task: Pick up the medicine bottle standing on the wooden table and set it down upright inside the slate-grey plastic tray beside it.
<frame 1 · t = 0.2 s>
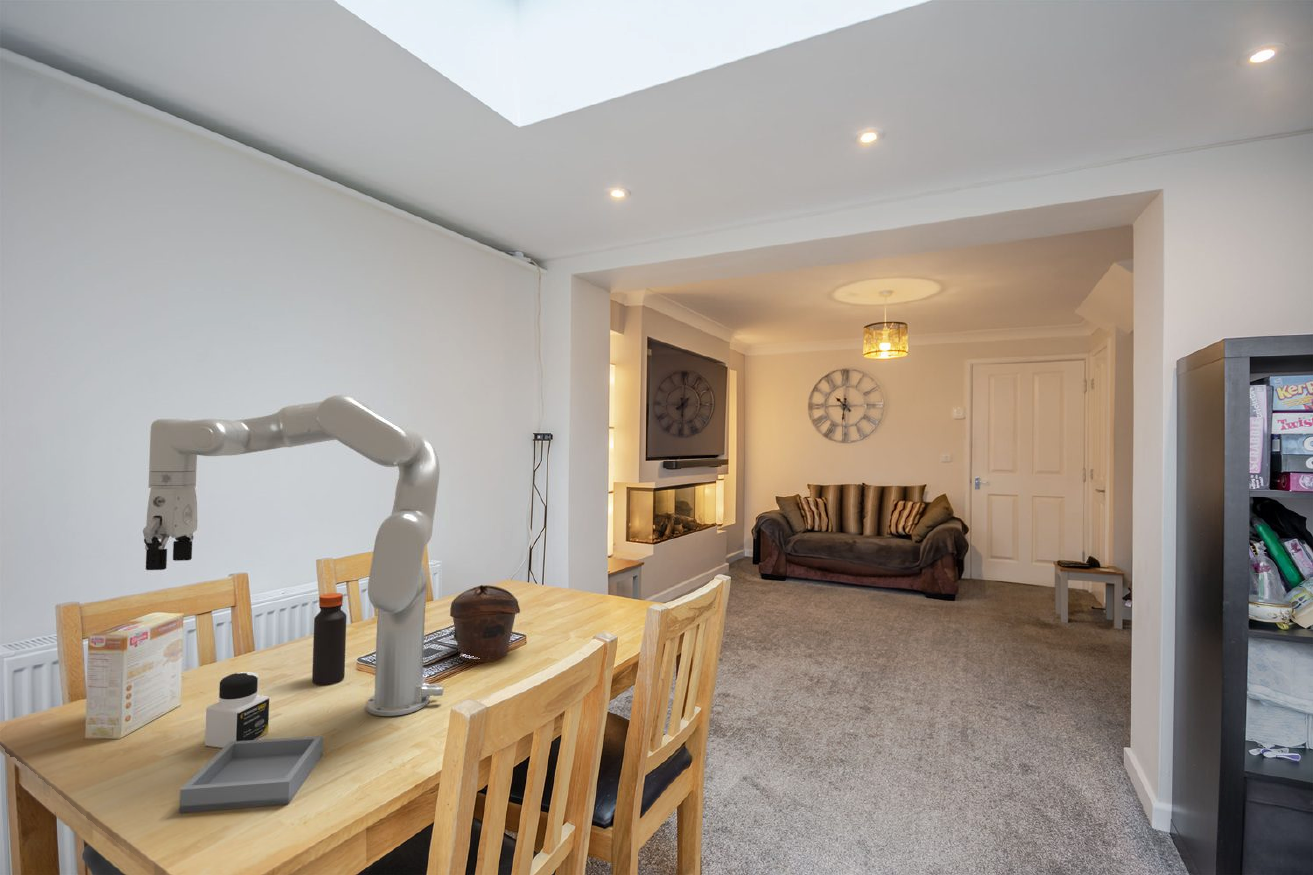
hand: (169, 564, 122), 31 cm above the table, tool pointing down, fingers open, 9 cm apart
grey tray: (257, 781, 100), on the table
brown lidded pot: (482, 654, 163), on the table
coffeecake box: (135, 721, 120), on the table
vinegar: (328, 681, 142), on the table
medicine bottle: (237, 740, 113), on the table
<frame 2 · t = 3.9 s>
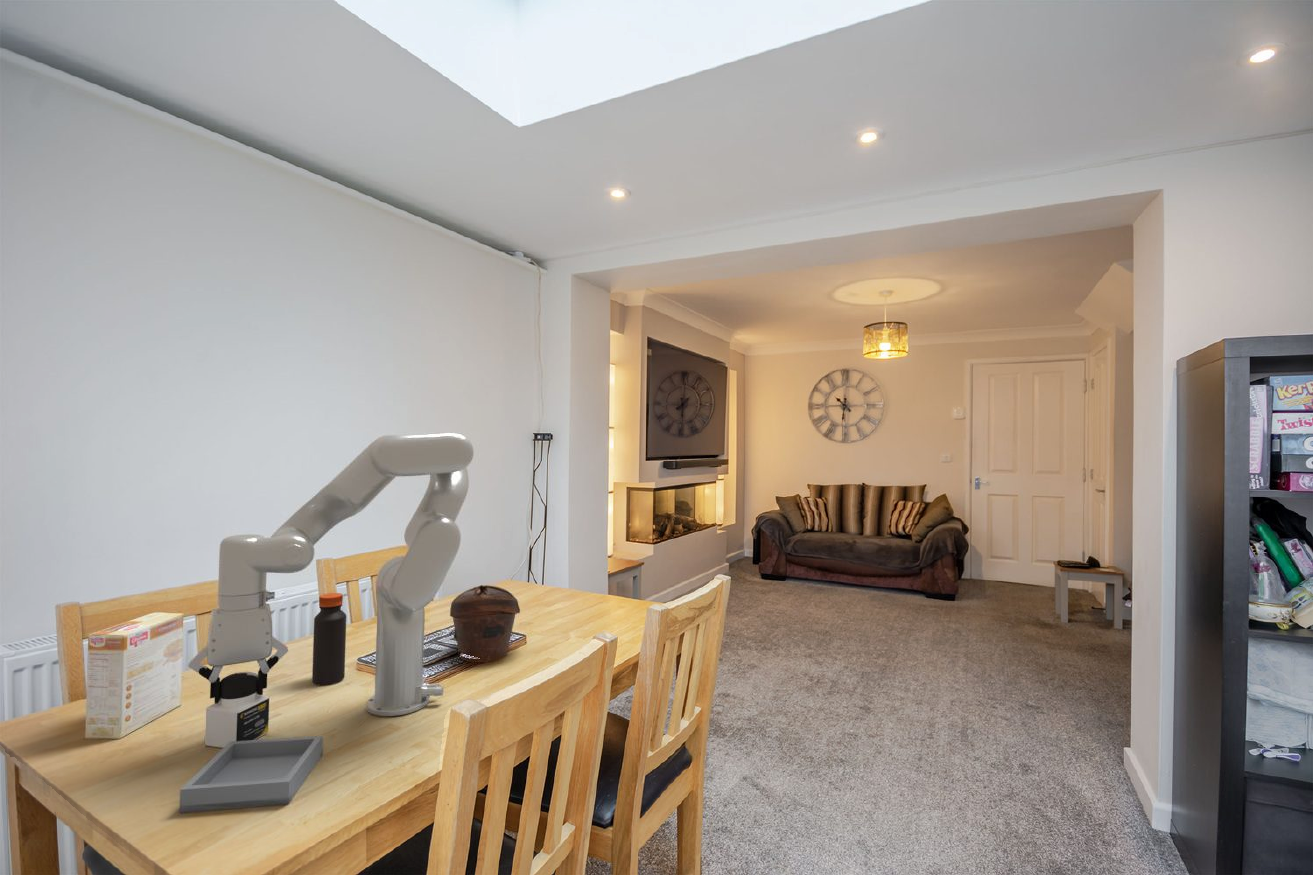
hand: (238, 695, 114), 8 cm above the table, tool pointing down, fingers closed on medicine bottle, 6 cm apart
medicine bottle: (237, 740, 113), on the table, touching gripper
everything else where it was.
when the fingers open (11 cm above the table, at t = 10.2 s): medicine bottle drops 2 cm, resting on grey tray.
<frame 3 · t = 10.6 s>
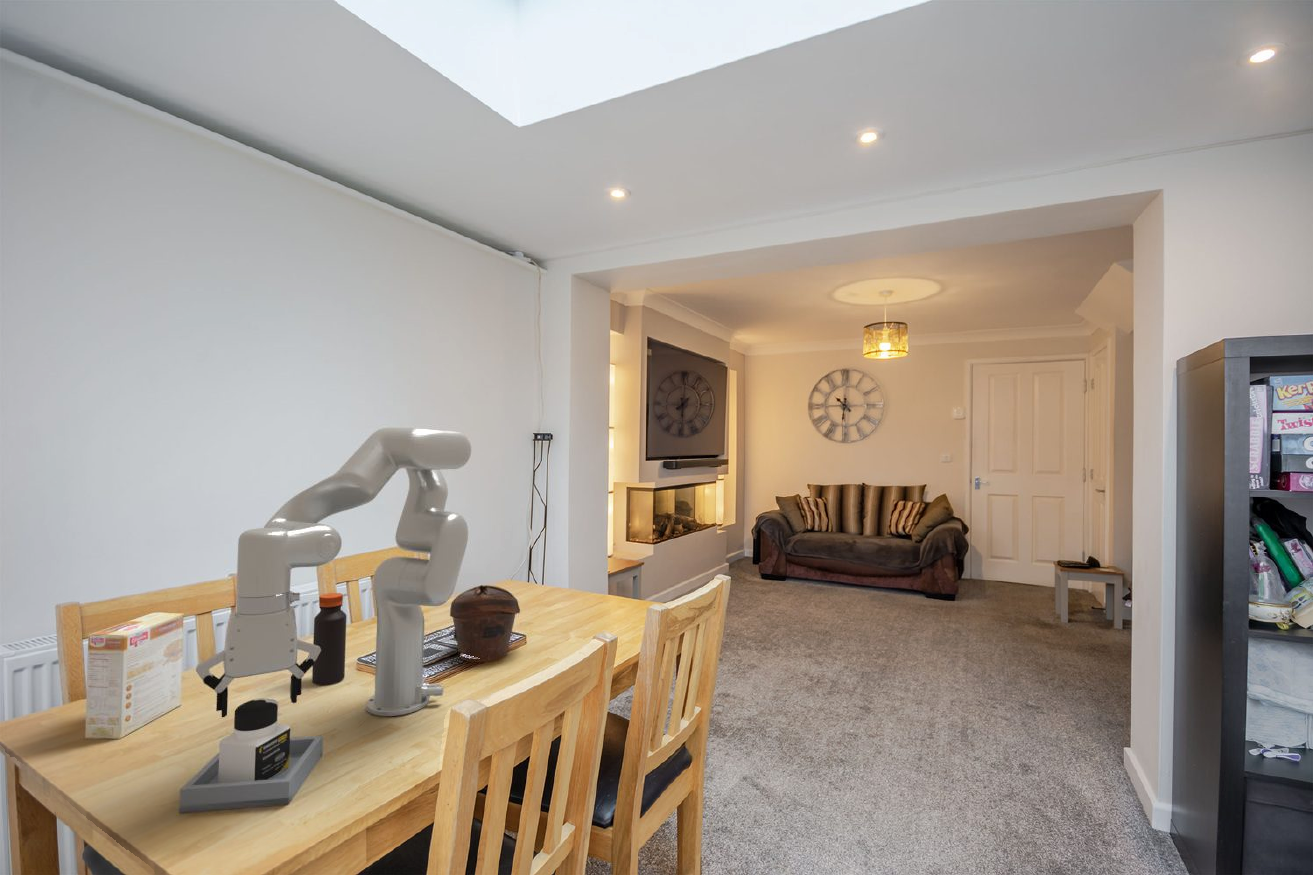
hand: (259, 706, 100), 12 cm above the table, tool pointing down, fingers open, 9 cm apart
medicine bottle: (254, 777, 100), point 1 cm above the table, touching grey tray
everything else where it was.
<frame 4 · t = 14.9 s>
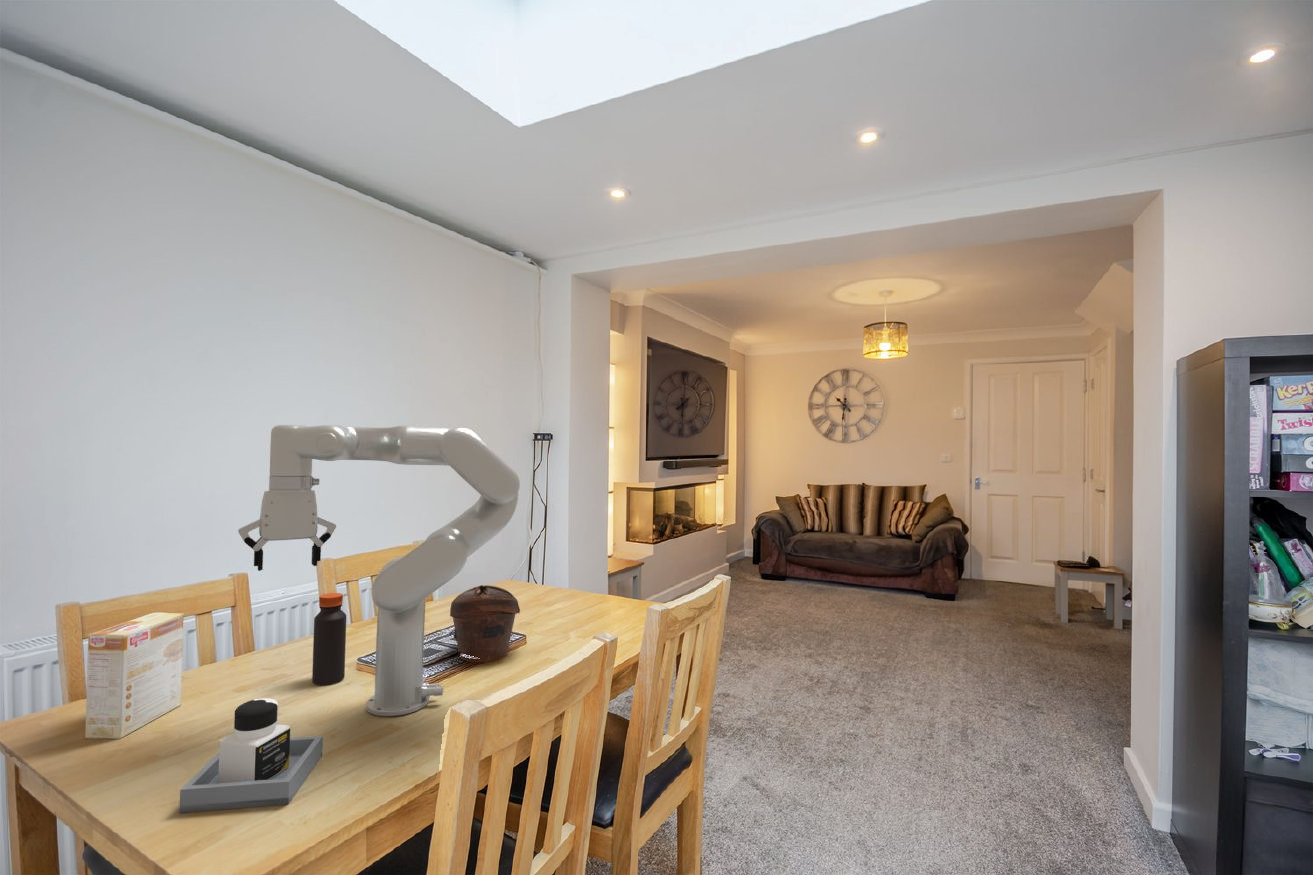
hand: (287, 567, 124), 30 cm above the table, tool pointing down, fingers open, 9 cm apart
nothing on the table moved.
at the end: medicine bottle inside the target area on the grey tray (0.4 cm from its centre), point 0.8 cm above the grey tray's base; medicine bottle tilted 0°; the gripper is holding nothing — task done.
